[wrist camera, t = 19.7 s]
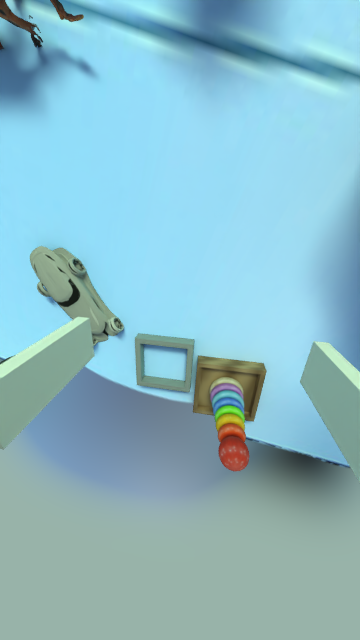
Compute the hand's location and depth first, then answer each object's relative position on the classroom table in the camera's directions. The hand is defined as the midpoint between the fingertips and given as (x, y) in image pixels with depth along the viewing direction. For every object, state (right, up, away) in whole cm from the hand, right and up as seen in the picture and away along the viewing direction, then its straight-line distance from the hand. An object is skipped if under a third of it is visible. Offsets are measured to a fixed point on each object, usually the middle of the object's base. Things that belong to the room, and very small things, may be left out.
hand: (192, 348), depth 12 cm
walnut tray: (+11, -14, +39) cm, 43 cm away
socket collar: (-4, -8, +39) cm, 40 cm away
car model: (-24, +7, +36) cm, 44 cm away
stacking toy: (+10, -15, +38) cm, 42 cm away
